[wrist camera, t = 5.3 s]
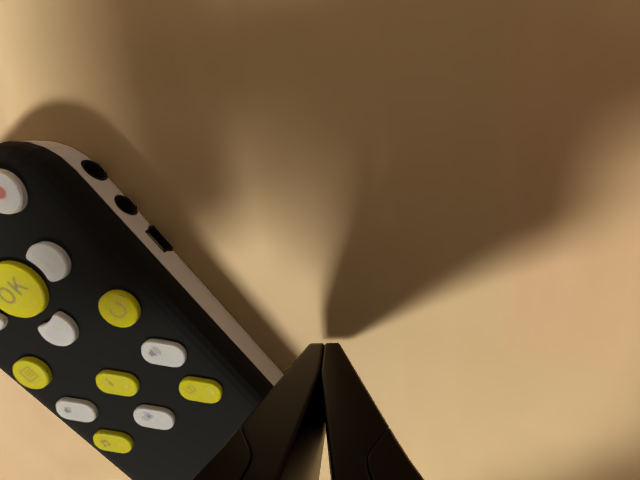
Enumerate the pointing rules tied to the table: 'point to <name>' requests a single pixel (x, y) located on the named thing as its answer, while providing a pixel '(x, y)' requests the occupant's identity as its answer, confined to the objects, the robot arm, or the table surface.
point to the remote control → (115, 320)
